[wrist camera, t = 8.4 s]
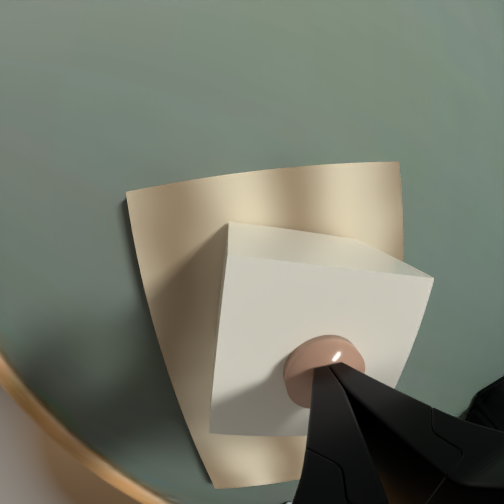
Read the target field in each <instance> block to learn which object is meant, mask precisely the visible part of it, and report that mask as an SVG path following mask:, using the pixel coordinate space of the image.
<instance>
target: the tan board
mask: <svg viewBox="0 0 504 504" xmlns="http://www.w3.org/2000/svg"><path fill="white" fill-rule="evenodd" d="M126 196H127V203H128V209H129V216H130V221H131V227H132V233H133V238H134V243H135V248H136V253H137V258H138V263H139V268H140V272H141V277H142V281H143V285H144V289H145V294H146V298H147V302H148V305H149V309H150V313H151V317H152V321H153V324H154V328H155V331H156V335H157V338H158V342H159V345H160V348H161V352H162V355H163V358H164V361H165V364H166V367H167V371H168V374H169V377H170V379H171V382H172V385H173V388H174V391H175V394H176V397H177V399H178V402H179V405H180V408H181V410H182V413H183V415H184V418H185V421H186V423H187V426H188V428H189V431H190V433H191V436H192V438H193V440H194V443H195V445H196V448H197V450H198V452H199V454H200V457H201V459H202V461H203V463H204V466H205V468H206V470H207V472H208V474H209V476H210V478H211V481H212V483H213V485H214V487H215V489H219V488H236V487H247V486H257V485H265V484H272V483H279V482H285V481H291V480H296V479H300V477H301V472H302V467H303V462H304V454H305V448H306V440H307V436H239V435H224V434H212V433H209V419H210V402H211V387H212V372H213V359H214V346H215V335H216V326H217V316H218V307H219V298H220V289H221V281H222V272H223V264H224V256H225V248H226V240H227V232H228V224H229V221H231V222H239V223H247V224H255V225H262V226H270V227H277V228H284V229H291V230H299V231H306V232H312V233H319V234H326V235H333V236H339V237H346V238H352V239H357V240H359V241H361V242H363V243H366V244H368V245H370V246H372V247H374V248H376V249H378V250H380V251H382V252H384V253H386V254H388V255H390V256H392V257H394V258H396V259H398V260H400V261H402V262H403V212H402V193H401V179H400V168H399V162H366V163H344V164H328V165H314V166H301V167H290V168H280V169H270V170H261V171H252V172H244V173H236V174H228V175H221V176H214V177H207V178H201V179H194V180H188V181H182V182H176V183H171V184H165V185H159V186H154V187H149V188H144V189H139V190H134V191H129V192H126Z"/></svg>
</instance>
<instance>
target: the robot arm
mask: <svg viewBox="0 0 504 504" xmlns="http://www.w3.org/2000/svg"><path fill="white" fill-rule="evenodd" d="M292 504H504V377H503V378H501V379H500V380H498V381H497V382H495V383H493V384H492V385H490V386H489V387H487V388H485V389H484V390H482V391H481V392H480V393H479V394H478V395H477V398H476V400H475V403H474V405H473V407H472V410H471V412H470V414H469V417H468V419H467V421H465V420H462V419H459V418H457V417H454V416H452V415H449V414H447V413H444V412H442V411H440V410H438V409H436V408H432V407H431V406H429V405H427V404H425V403H423V402H420V401H418V400H416V399H414V398H412V397H410V396H408V395H406V394H404V393H402V392H400V391H398V390H396V389H394V388H392V387H390V386H388V385H386V384H384V383H382V382H380V381H378V380H376V379H374V378H372V377H370V376H368V375H366V374H364V373H362V372H360V371H358V370H356V369H354V368H353V367H351V366H349V365H347V364H345V363H343V362H338V363H334V364H330V365H329V366H321V367H316V368H314V370H313V382H312V393H311V404H310V414H309V423H308V432H307V440H306V448H305V454H304V462H303V467H302V472H301V477H300V481H299V484H298V487H297V490H296V493H295V496H294V499H293V502H292Z"/></svg>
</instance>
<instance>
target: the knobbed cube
mask: <svg viewBox="0 0 504 504" xmlns="http://www.w3.org/2000/svg"><path fill="white" fill-rule="evenodd" d="M433 281H434V278H433V277H431V276H429V275H427V274H425V273H423V272H422V271H420V270H418V269H416V268H414V267H412V266H410V265H408V264H406V263H404V262H402V261H400V260H398V259H396V258H394V257H392V256H390V255H388V254H386V253H384V252H382V251H380V250H378V249H376V248H374V247H372V246H370V245H368V244H366V243H363V242H361V241H359V240H357V239H352V238H346V237H339V236H333V235H326V234H319V233H312V232H306V231H299V230H291V229H284V228H277V227H270V226H262V225H255V224H247V223H239V222H231V221H229V224H228V232H227V240H226V248H225V256H224V264H223V272H222V281H221V289H220V298H219V307H218V316H217V326H216V335H215V346H214V359H213V372H212V387H211V402H210V419H209V433H212V434H224V435H239V436H307V432H308V423H309V414H310V404H311V393H312V382H313V370H314V368H316V367H321V366H329V365H330V364H334V363H338V362H343V363H345V364H347V365H349V366H351V367H353V368H354V369H356V370H358V371H360V372H362V373H364V374H366V375H368V376H370V377H372V378H374V379H376V380H378V381H380V382H382V383H384V384H386V385H388V386H390V387H392V388H395V386H396V384H397V382H398V380H399V377H400V375H401V373H402V370H403V368H404V366H405V363H406V361H407V358H408V356H409V353H410V351H411V348H412V346H413V343H414V340H415V338H416V335H417V332H418V329H419V326H420V324H421V321H422V318H423V315H424V312H425V308H426V305H427V302H428V299H429V295H430V292H431V288H432V285H433Z"/></svg>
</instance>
